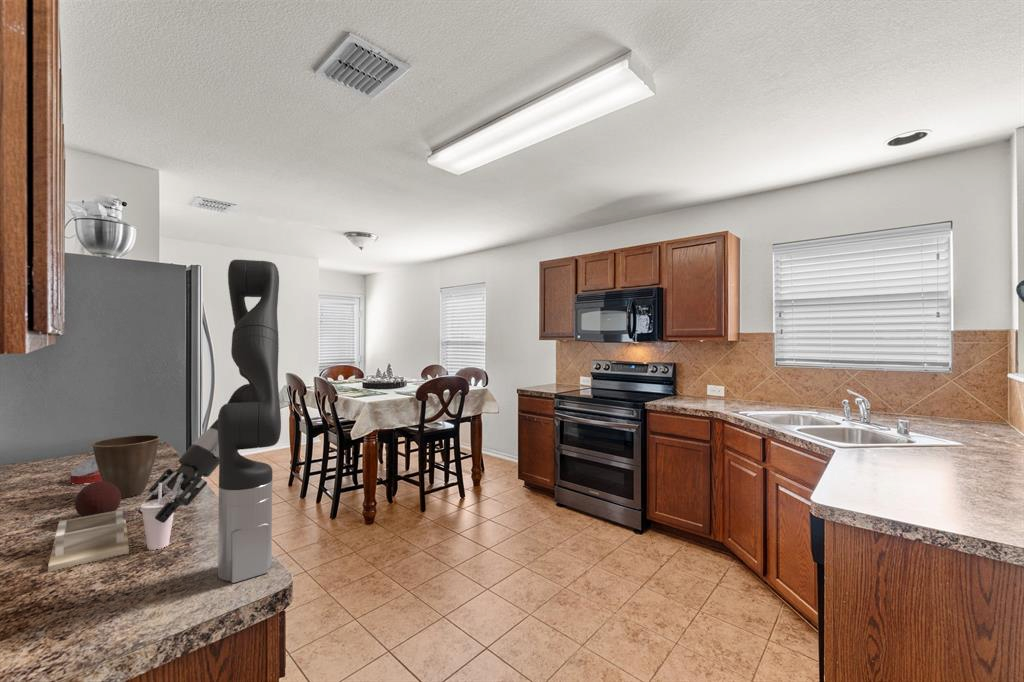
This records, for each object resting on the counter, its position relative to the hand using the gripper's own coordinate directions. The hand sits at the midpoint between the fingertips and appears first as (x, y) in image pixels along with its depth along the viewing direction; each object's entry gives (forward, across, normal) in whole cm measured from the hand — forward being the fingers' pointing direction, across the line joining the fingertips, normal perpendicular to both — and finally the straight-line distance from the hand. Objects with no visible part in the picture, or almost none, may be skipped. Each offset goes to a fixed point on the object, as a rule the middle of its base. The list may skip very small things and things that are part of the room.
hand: (150, 517), depth 98 cm
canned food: (-6, -73, +16) cm, 75 cm away
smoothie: (+4, 0, +6) cm, 7 cm away
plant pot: (-5, -46, +15) cm, 49 cm away
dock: (+9, -13, +1) cm, 16 cm away
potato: (+3, -32, +7) cm, 32 cm away
